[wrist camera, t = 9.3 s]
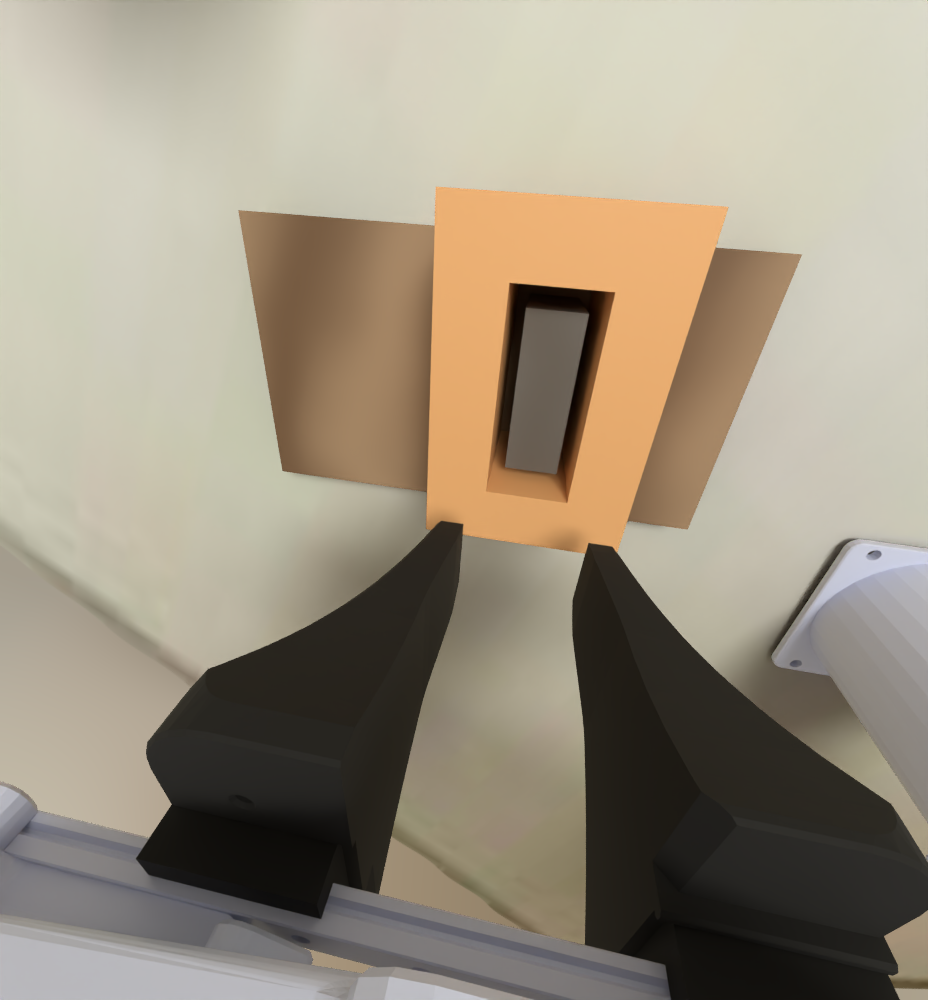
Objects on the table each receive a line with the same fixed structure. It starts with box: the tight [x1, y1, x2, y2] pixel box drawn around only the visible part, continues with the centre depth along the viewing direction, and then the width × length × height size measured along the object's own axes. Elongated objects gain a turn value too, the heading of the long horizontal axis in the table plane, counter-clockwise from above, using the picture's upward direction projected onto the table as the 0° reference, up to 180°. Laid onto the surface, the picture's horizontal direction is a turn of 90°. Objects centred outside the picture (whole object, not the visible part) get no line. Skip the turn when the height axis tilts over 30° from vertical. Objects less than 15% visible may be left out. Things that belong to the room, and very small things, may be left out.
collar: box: [426, 187, 728, 553], centre depth 13 cm, size 6×9×5 cm, turn 176°
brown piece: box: [238, 210, 802, 529], centre depth 15 cm, size 18×10×6 cm, turn 86°
